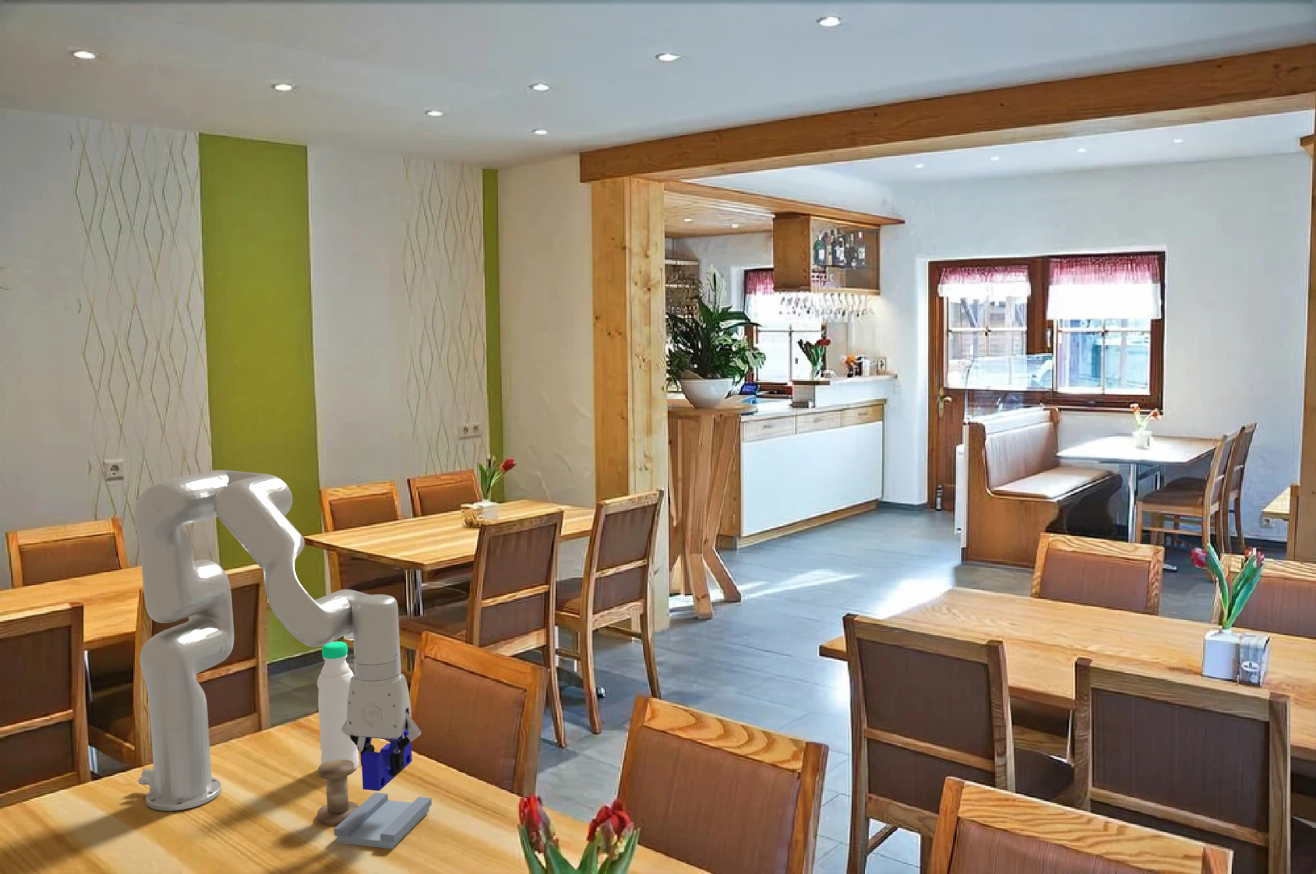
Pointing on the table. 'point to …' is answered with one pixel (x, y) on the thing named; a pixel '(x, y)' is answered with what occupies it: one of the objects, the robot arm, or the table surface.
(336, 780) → the door knob
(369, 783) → the cable clip
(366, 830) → the notched board
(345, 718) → the water bottle
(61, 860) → the table surface
